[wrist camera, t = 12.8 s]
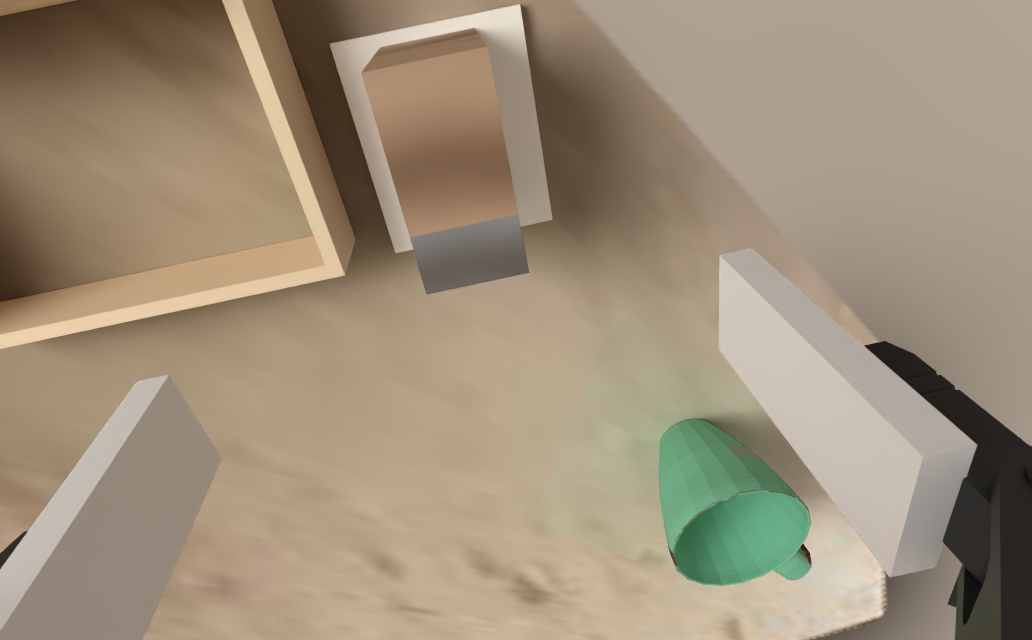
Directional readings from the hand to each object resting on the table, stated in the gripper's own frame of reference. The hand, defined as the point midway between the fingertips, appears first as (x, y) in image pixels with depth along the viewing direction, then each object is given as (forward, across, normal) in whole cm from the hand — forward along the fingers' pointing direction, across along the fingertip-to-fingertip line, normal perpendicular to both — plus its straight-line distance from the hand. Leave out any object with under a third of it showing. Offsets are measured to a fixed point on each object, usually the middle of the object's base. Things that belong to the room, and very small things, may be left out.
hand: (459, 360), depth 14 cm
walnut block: (+22, 0, 0) cm, 22 cm away
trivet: (+23, 0, 0) cm, 23 cm away
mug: (+23, +15, -30) cm, 41 cm away
